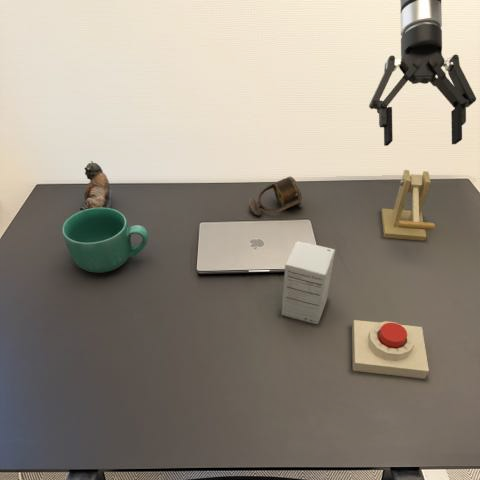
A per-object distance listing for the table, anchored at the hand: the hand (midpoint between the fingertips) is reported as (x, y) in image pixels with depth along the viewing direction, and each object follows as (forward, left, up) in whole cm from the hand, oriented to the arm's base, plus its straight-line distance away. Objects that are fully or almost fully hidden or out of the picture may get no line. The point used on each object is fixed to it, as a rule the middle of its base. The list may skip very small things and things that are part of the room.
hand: (422, 142), depth 92 cm
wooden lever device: (-1, -2, -21) cm, 21 cm away
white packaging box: (+20, +28, -21) cm, 40 cm away
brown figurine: (+71, +2, -21) cm, 74 cm away
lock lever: (-1, +3, -12) cm, 13 cm away
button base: (+5, +37, -21) cm, 43 cm away
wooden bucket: (+29, -6, -21) cm, 36 cm away
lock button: (+5, +37, -17) cm, 41 cm away
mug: (+61, +20, -21) cm, 67 cm away
